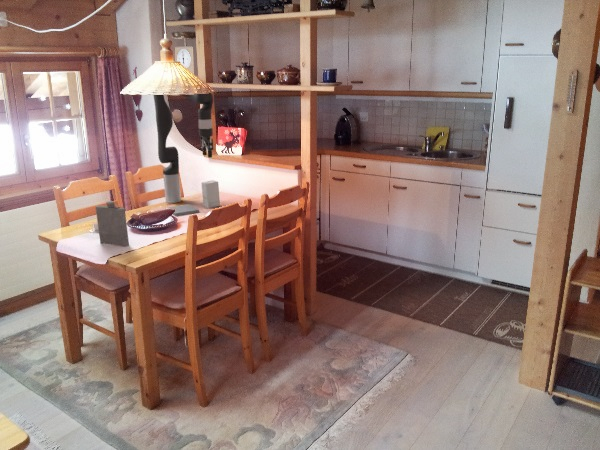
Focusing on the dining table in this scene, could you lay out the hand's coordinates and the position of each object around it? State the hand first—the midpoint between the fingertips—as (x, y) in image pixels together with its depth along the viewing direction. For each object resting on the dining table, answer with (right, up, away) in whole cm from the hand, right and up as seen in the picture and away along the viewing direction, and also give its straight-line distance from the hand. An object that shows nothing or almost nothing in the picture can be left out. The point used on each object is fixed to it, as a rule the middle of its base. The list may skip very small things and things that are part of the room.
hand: (207, 156), depth 300 cm
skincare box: (+1, -28, +9) cm, 30 cm away
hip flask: (-33, -48, -54) cm, 80 cm away
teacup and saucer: (-49, -43, -35) cm, 74 cm away
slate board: (-14, -31, 0) cm, 34 cm away
